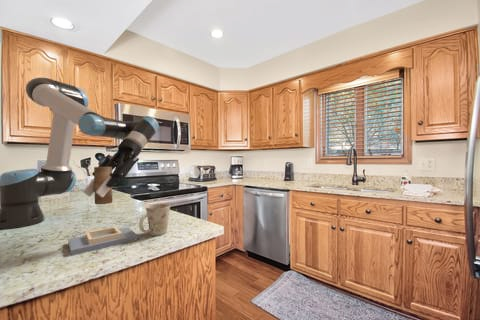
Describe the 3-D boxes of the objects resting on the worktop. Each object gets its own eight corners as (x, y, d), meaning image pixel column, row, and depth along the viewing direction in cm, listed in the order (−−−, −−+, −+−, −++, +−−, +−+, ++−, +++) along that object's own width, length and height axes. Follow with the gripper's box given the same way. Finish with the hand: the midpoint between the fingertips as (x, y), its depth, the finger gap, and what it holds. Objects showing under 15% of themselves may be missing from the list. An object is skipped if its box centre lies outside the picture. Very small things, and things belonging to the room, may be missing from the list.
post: (93, 202, 72) (92, 167, 72) (110, 200, 76) (110, 166, 76) (96, 205, 69) (95, 167, 69) (113, 202, 72) (113, 166, 72)
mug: (174, 230, 83) (174, 204, 83) (150, 242, 71) (149, 212, 71) (157, 228, 86) (157, 203, 86) (131, 239, 74) (131, 210, 74)
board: (68, 243, 71) (68, 234, 71) (128, 230, 83) (128, 223, 83) (71, 255, 62) (70, 245, 62) (137, 239, 74) (137, 230, 74)
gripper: (156, 151, 84) (121, 202, 68) (120, 152, 90) (81, 199, 74) (146, 136, 79) (106, 188, 63) (109, 139, 84) (64, 186, 69)
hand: (92, 194), depth 69 cm, fingers closed on post, 5 cm apart
